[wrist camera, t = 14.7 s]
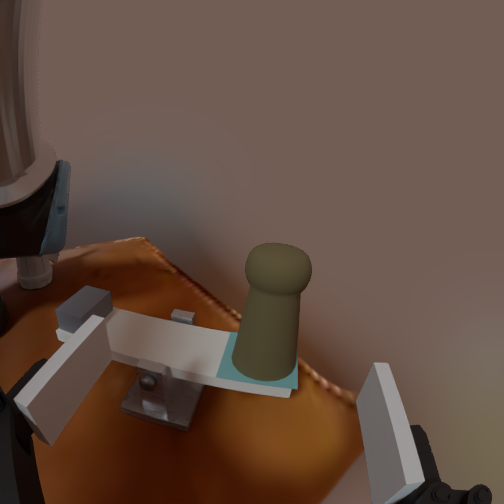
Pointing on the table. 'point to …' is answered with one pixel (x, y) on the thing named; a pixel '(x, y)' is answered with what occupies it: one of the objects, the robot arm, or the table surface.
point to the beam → (167, 344)
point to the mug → (35, 270)
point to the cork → (271, 312)
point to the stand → (163, 391)
